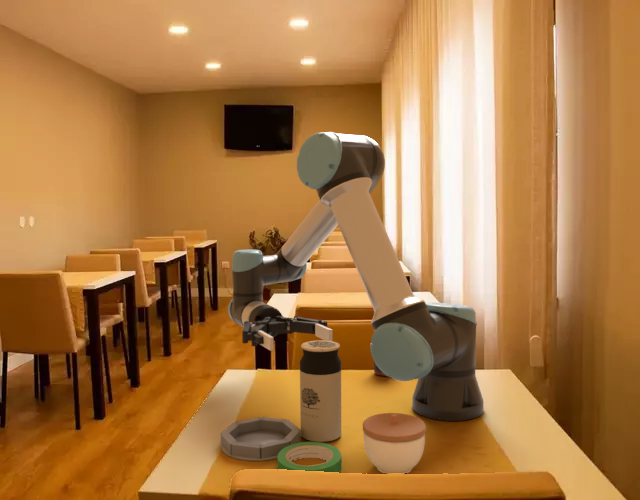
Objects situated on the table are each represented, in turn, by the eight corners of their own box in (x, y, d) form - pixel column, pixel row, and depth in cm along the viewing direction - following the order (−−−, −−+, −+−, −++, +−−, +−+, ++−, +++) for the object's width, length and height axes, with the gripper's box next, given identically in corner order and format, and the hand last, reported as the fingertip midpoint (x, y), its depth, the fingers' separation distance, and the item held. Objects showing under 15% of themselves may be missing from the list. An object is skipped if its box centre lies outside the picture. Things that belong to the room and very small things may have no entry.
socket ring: (311, 432, 121) (310, 421, 120) (284, 465, 106) (283, 452, 106) (241, 425, 125) (241, 413, 125) (206, 455, 111) (206, 442, 111)
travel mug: (323, 424, 125) (323, 337, 123) (349, 436, 119) (349, 345, 117) (292, 434, 120) (291, 344, 118) (318, 446, 114) (317, 351, 112)
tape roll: (322, 490, 98) (321, 474, 98) (265, 475, 103) (264, 460, 103) (352, 463, 108) (352, 448, 108) (298, 451, 113) (298, 437, 113)
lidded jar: (418, 486, 98) (418, 430, 97) (354, 476, 102) (354, 421, 101) (431, 459, 108) (431, 407, 107) (373, 450, 112) (372, 400, 111)
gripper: (309, 329, 151) (353, 349, 133) (212, 341, 140) (245, 365, 121) (309, 299, 151) (353, 315, 132) (211, 309, 139) (244, 328, 120)
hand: (302, 339), depth 126 cm, fingers open, 13 cm apart
